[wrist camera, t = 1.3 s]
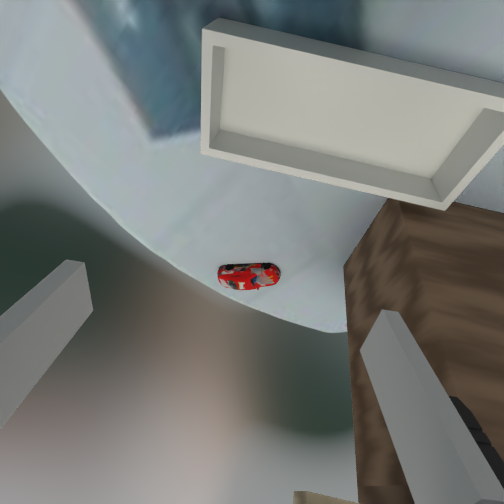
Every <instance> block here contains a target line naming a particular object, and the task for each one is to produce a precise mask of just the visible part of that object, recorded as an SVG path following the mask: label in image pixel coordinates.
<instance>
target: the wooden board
mask: <svg viewBox="0 0 504 504" xmlns="http://www.w3.org/2000/svg"><path fill="white" fill-rule="evenodd" d="M293 504H359V503H355V502H351V501H346V500H342V499H338V498H333V497H330V496H325V495H321V494H317V493H312V492H308V491H294V500H293Z"/></svg>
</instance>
